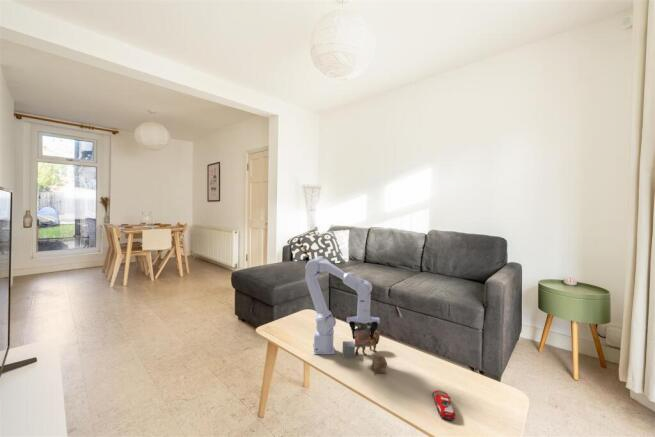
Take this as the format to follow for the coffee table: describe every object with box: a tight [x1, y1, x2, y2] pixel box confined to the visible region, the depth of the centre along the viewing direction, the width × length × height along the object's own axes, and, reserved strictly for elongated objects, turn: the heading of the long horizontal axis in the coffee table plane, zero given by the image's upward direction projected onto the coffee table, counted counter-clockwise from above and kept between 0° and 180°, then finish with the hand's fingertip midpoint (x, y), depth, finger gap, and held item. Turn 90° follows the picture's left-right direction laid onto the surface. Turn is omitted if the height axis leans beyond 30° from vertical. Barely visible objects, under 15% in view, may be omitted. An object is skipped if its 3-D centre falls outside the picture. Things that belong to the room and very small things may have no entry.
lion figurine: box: [355, 330, 381, 357], centre depth 135 cm, size 15×5×9 cm, turn 129°
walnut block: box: [371, 355, 388, 375], centre depth 121 cm, size 5×5×5 cm
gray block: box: [342, 340, 356, 358], centre depth 133 cm, size 5×5×5 cm
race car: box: [432, 389, 456, 421], centre depth 100 cm, size 13×5×4 cm, turn 171°
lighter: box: [354, 323, 371, 349], centre depth 128 cm, size 8×3×10 cm, turn 118°
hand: (362, 338), depth 128 cm, fingers closed on lighter, 7 cm apart
